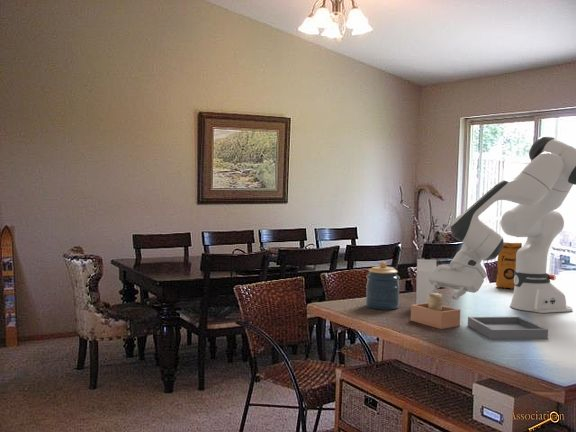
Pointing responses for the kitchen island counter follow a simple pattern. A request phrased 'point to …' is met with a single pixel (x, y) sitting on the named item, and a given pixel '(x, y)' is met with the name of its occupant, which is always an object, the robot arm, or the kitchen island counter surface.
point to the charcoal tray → (507, 328)
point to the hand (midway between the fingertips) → (443, 296)
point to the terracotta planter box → (435, 316)
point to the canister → (382, 288)
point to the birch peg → (435, 301)
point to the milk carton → (424, 280)
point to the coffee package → (507, 265)
